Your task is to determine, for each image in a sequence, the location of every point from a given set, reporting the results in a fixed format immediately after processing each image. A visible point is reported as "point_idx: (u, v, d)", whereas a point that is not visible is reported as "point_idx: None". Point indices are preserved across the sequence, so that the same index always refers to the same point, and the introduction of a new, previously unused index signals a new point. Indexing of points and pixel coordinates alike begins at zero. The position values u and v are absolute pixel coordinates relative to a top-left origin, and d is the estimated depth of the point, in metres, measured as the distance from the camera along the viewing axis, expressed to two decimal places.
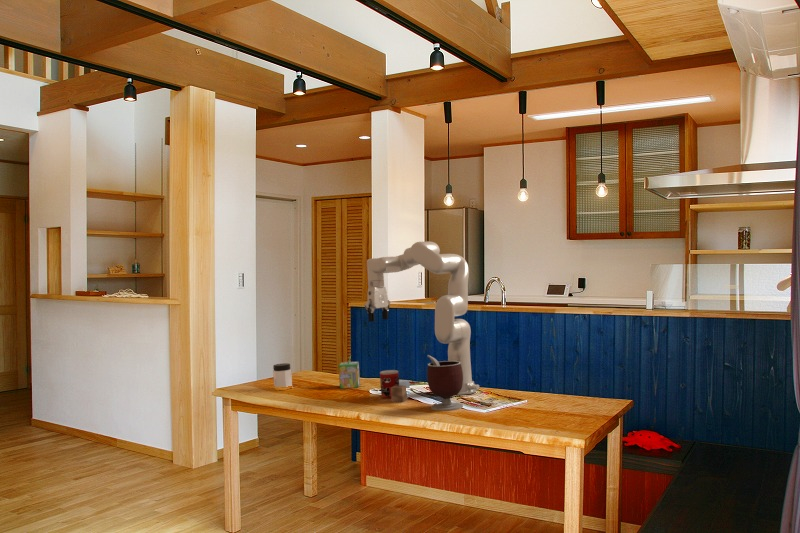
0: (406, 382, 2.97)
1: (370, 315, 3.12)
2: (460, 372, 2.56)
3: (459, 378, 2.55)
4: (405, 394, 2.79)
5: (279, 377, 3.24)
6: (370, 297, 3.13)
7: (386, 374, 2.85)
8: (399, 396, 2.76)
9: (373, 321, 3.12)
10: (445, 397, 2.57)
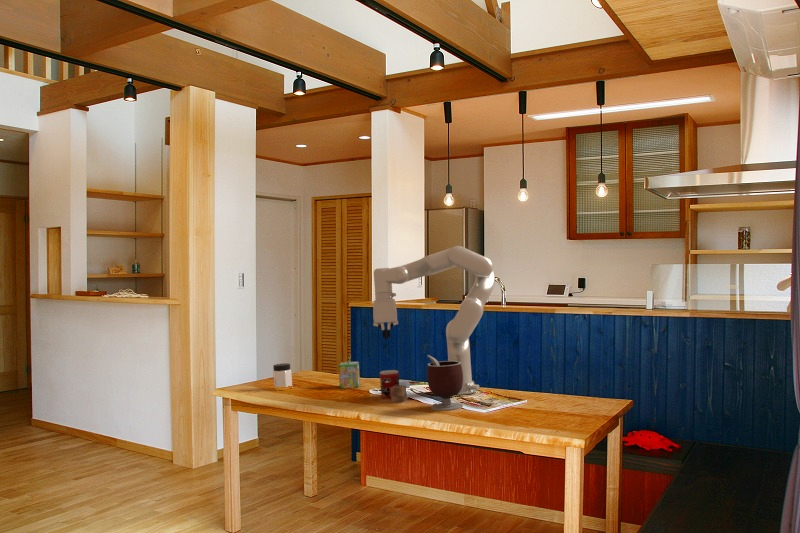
0: (406, 382, 2.97)
1: (389, 332, 2.89)
2: (460, 372, 2.56)
3: (459, 378, 2.55)
4: (405, 394, 2.79)
5: (279, 377, 3.24)
6: (396, 309, 2.89)
7: (386, 374, 2.85)
8: (399, 396, 2.76)
9: None
10: (445, 397, 2.57)
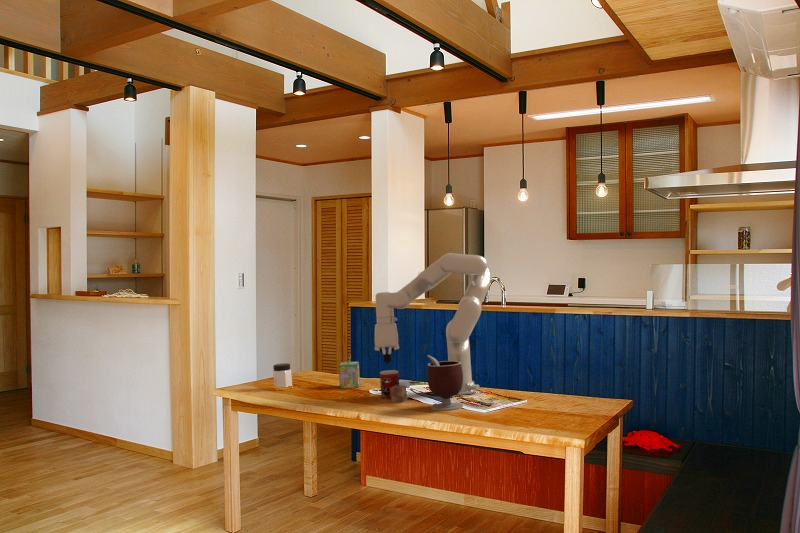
0: (406, 382, 2.97)
1: (390, 356, 2.89)
2: (460, 372, 2.56)
3: (459, 378, 2.55)
4: (405, 394, 2.79)
5: (279, 377, 3.24)
6: (397, 333, 2.89)
7: (386, 374, 2.85)
8: (399, 396, 2.76)
9: (389, 362, 2.90)
10: (445, 397, 2.57)
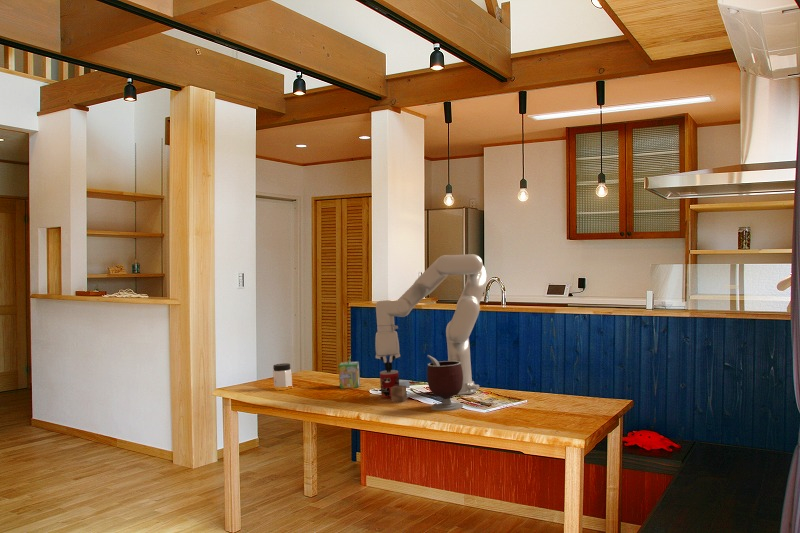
0: (406, 382, 2.97)
1: (391, 364, 2.89)
2: (460, 372, 2.56)
3: (459, 378, 2.55)
4: (405, 394, 2.79)
5: (279, 377, 3.24)
6: (398, 341, 2.89)
7: (386, 374, 2.85)
8: (399, 396, 2.76)
9: None
10: (445, 397, 2.57)
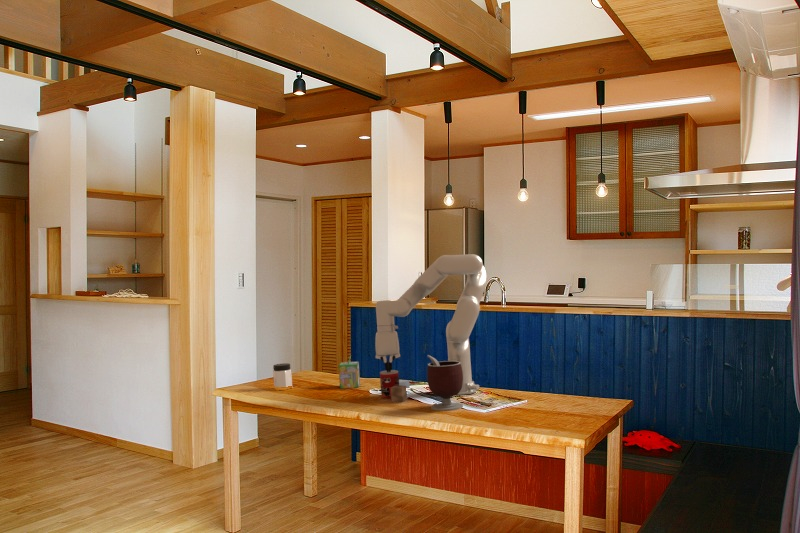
0: (406, 382, 2.97)
1: (391, 364, 2.89)
2: (460, 372, 2.56)
3: (459, 378, 2.55)
4: (405, 394, 2.79)
5: (279, 377, 3.24)
6: (398, 341, 2.89)
7: (386, 374, 2.85)
8: (399, 396, 2.76)
9: None
10: (445, 397, 2.57)
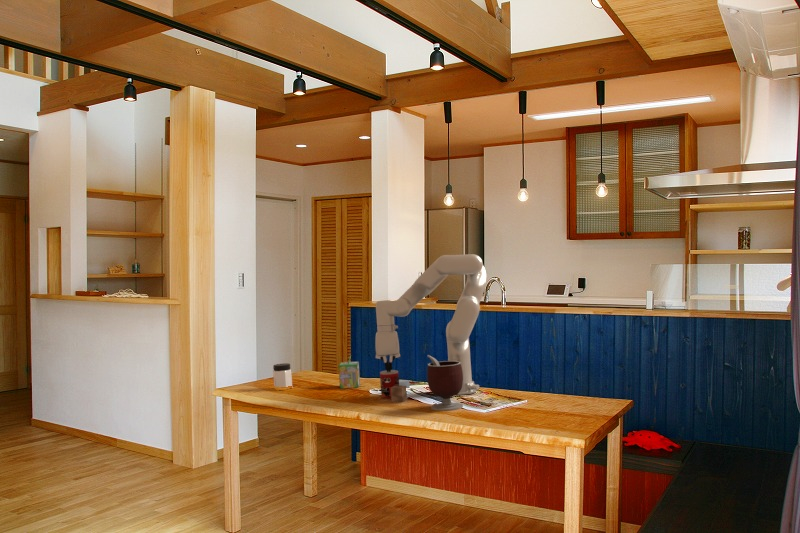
0: (406, 382, 2.97)
1: (391, 364, 2.89)
2: (460, 372, 2.56)
3: (459, 378, 2.55)
4: (405, 394, 2.79)
5: (279, 377, 3.24)
6: (398, 341, 2.89)
7: (386, 374, 2.85)
8: (399, 396, 2.76)
9: None
10: (445, 397, 2.57)
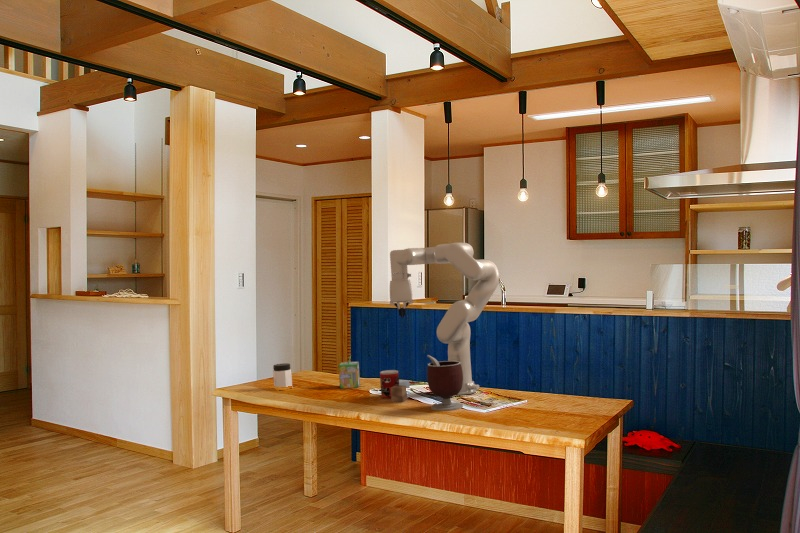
0: (406, 382, 2.97)
1: None
2: (460, 372, 2.56)
3: (459, 378, 2.55)
4: (405, 394, 2.79)
5: (279, 377, 3.24)
6: (411, 289, 3.04)
7: (386, 374, 2.85)
8: (399, 396, 2.76)
9: None
10: (445, 397, 2.57)
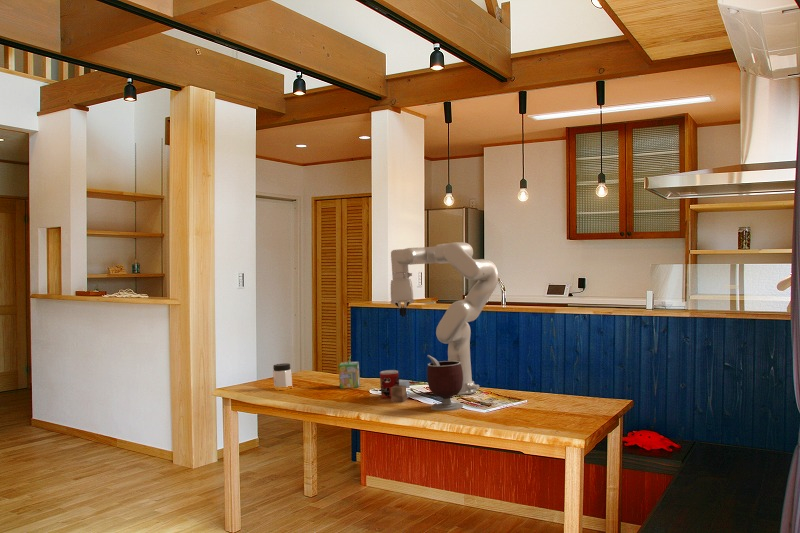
0: (406, 382, 2.97)
1: None
2: (460, 372, 2.56)
3: (459, 378, 2.55)
4: (405, 394, 2.79)
5: (279, 377, 3.24)
6: None
7: (386, 374, 2.85)
8: (399, 396, 2.76)
9: None
10: (445, 397, 2.57)
